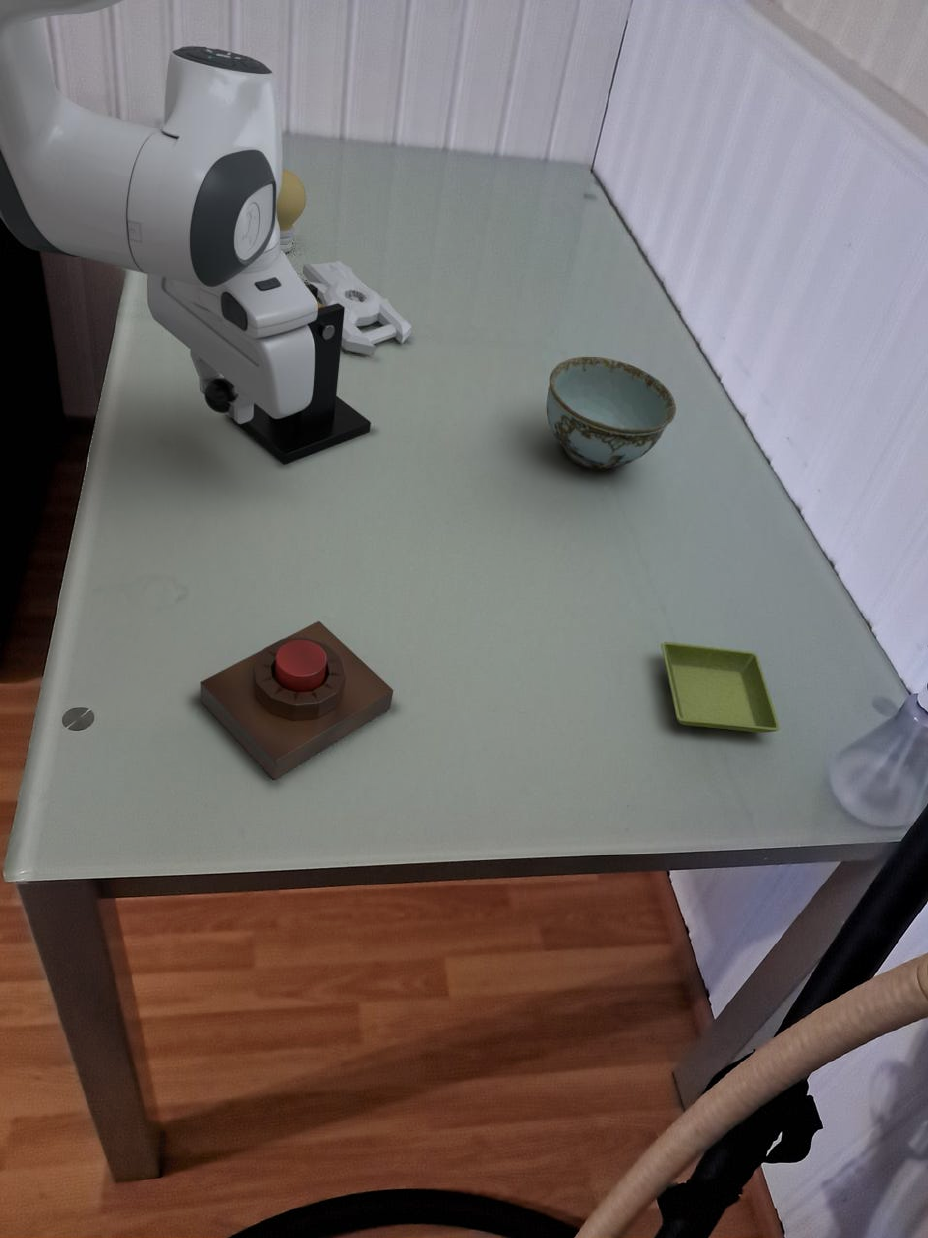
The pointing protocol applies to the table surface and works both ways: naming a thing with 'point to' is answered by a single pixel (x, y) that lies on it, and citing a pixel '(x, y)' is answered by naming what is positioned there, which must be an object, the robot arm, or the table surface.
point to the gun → (356, 307)
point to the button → (300, 665)
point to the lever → (222, 392)
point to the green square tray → (718, 688)
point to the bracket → (313, 400)
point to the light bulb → (289, 206)
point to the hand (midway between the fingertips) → (226, 406)
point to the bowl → (606, 411)
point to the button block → (295, 702)
